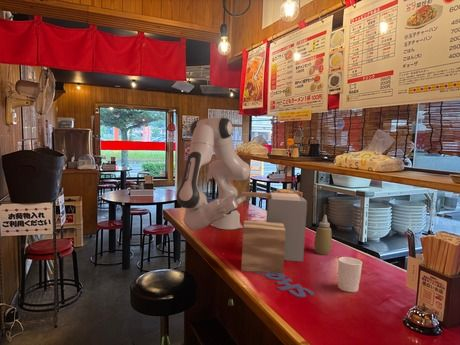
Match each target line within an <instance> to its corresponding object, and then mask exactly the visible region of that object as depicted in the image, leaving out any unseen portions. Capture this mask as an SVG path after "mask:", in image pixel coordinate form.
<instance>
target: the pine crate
mask: <svg viewBox="0 0 460 345" xmlns="http://www.w3.org/2000/svg"><path fill="white" fill-rule="evenodd" d="M285 234H286V230H285V227H284V225H283V223H273V222H266V221H256V220H255V221H254V220H243V234H242V249H241V250H242V251H241V265H240V266H241V267H240V268H241V269H240V270H241V272H251V271H257V272H263V273H264V274H265V273H266V272H273V273H282V274H284V265H285V264H284V262H285V260H284V250H285Z"/></svg>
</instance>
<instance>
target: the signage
mask: <svg viewBox="0 0 460 345" xmlns="http://www.w3.org/2000/svg"><path fill="white" fill-rule="evenodd" d="M252 273H254V274H260V275H261V277H262V276H263V277H265V278H267V279H268V280H270V281H272V280H273V281H275V284H277V285H278V286H279V287H276V289H277V290H279V291H281V292H282V291H287V290H288V292H289V293H290V294H291V295H293V296H295V297H297V298H302V299H303V298H306V296H307V295H306V293H307V294H308V295H310V296H315V295H316V293H314V292H313V291H312V290H310V289H309V288H307V287H303V286H302V285H301V284H300V283H296V284H295V283H294V284H291V282H293V280H292V279H291V278H290V277H289V276H287V275H285V274H284V273H283V274H282V273H273V272H266V273H265V272H257V271H252ZM281 285H282V286H281ZM293 289H296V291H297V292H296V291H295V290H293Z"/></svg>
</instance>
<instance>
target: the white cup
mask: <svg viewBox="0 0 460 345" xmlns="http://www.w3.org/2000/svg"><path fill="white" fill-rule="evenodd" d="M337 264H338V265H337V266H338V267H337V287H338V289H340V290H341V291H344V292H348V293H356V292H358V291H359V286H360V281H361V276H362V275H361V274H362V267H363V261H362V260H360V259H358V258H354V257H351V256H350V257H348V256H342V257H339V258H338V262H337Z"/></svg>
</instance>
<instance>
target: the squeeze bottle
mask: <svg viewBox="0 0 460 345" xmlns="http://www.w3.org/2000/svg"><path fill="white" fill-rule="evenodd" d="M322 217H323V218H322V220H321V221H319V223H318V224H319V226H318V227H316V231H315V232H316V233H315V237H314V243H313V246H314V249H315V253H317V254H319V255H323V256H324V255H330V252H331V249H332V247H333V244H332V243H333V241H332V240H333V238H332V235H333V234H332V228H331V227H330V226H331V225H330V224H331V223H330V222H328V217H327V214H323V216H322Z"/></svg>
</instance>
